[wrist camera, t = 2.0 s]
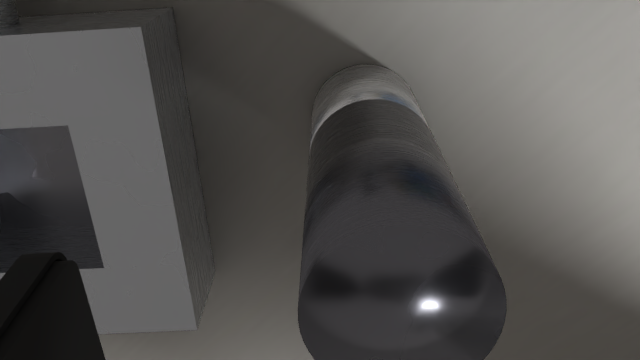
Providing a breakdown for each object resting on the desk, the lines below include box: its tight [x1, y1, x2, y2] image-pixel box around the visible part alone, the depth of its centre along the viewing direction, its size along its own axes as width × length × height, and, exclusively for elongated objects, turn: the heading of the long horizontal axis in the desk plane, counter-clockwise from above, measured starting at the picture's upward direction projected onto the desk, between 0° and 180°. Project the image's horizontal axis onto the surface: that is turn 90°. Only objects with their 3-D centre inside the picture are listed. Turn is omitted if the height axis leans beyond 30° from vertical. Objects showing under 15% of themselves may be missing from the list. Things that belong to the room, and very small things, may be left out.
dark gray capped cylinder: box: [298, 64, 506, 360], centre depth 15 cm, size 4×4×11 cm
